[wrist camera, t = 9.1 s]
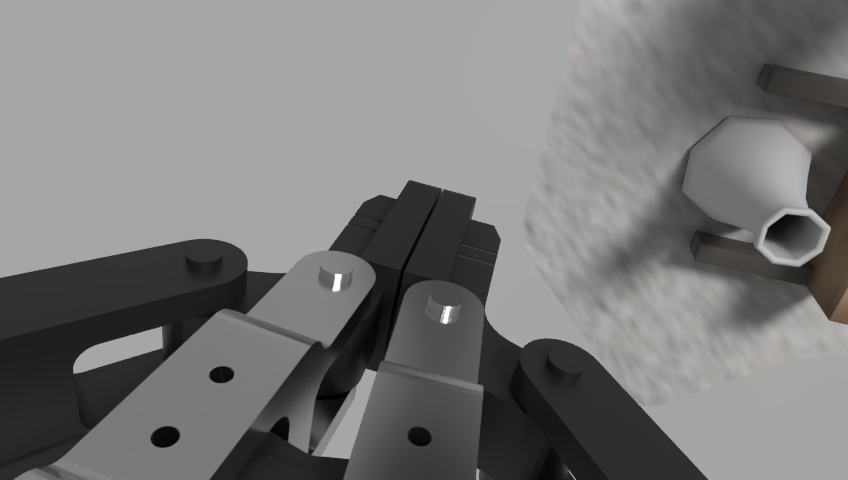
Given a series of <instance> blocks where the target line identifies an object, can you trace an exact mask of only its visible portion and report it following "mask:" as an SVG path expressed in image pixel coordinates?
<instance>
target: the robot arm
mask: <svg viewBox="0 0 848 480" xmlns="http://www.w3.org/2000/svg"><path fill="white" fill-rule="evenodd" d="M441 193H442V194H441ZM475 202H476V198H475V197H471V196H467V195H464V194H460V193H456V192H452V191H449V190H445V189H444V190H443V192H442V189H441V188H437V187H434V186H430V185H426V184H422V183H419V182H415V181H411V180H409V181H408V183H407V184H406V186H405V187H404V189H403V191H402V192H401V194H400V195H399V197H398V198H397V199H394V198H390V197H387V196H383V195H379V196H376V197H375V198H372V199H370V200H367V201H365V202H364V203H363V204H362V205H361V207H360V208H359V209H358V211H357V212H356V213H355V216H353V218H352V219H351V220H350V222H349V223H348V225H347V226H346V227H345V228H344V230H343V231H342V232H341V234H340V235H339V236H338V238H337V239H336V240H335V242H334V243H333V245H332V246H331V247H330V249H329V250H328V251H320V252H315V253H312V254H309V255H307V256H305V257H303V258H302V259H301V260H299V261H298V262H297V263H296V264H295V265H294V267H293V268H291V269H290V271H289V272H287V273H265V272H253V271H247V266H248V261H247V257H246V255H245V254H244V252H242V250H241V249H239V248H238V247H236V246H234V245H232V244H230V243H227V242H223V241H219V240H212V239H195V240H188V241H183V242H178V243H173V244H168V245H163V246H158V247H153V248H148V249H143V250H138V251H133V252H129V253H123V254H118V255H113V256H108V257H103V258H98V259H93V260H88V261H84V262H78V263H73V264H68V265H63V266H58V267H53V268H48V269H43V270H38V271H33V272H28V273H23V274H18V275H13V276H8V277H3V278H0V480H476V469H477V468H478V469H479V470H480V471H479V480H574V478H573V477H572V475H571V474H570V473H569V470H570V472H571V473H572V474H573V475H574V477H575V478H576V480H708V479H707V478H706V477H705V476H704V475H703V474H702V472H701V471H699V470H698V468H697V467H696V466H695V465H694V464H693V463H692V462H691V461H690V460H689V459H688V458H687V456H686V455H685V454H684V453H683V452H682V451H681V450H680V449H679V448H678V447H677V446H676V445H675V443H674V442H673V441H672V440H671V439H670V438H669V437H668V436H667V435H666V434H665V433H664V432H663V431H662V430H661V428H660V427H659V426H658V425H657V424H656V423H655V422H654V421H653V420H652V419H651V418H650V417H649V416H648V415H647V413H646V412H645V411H644V410H643V409H642V408H641V407H640V406H639V405H638V404H637V403H636V402H635V400H634V399H633V398H632V397H631V396H630V395H629V394H628V393H627V392H626V391H625V390H624V389H623V388H622V387H621V385H620V384H619V383H618V382H617V381H616V380H615V379H614V378H613V377H612V376H611V375H610V374H609V373H608V371H607V370H606V369H605V368H604V367H603V366H602V365H601V364H600V363H599V362H598V361H597V360H596V359H595V358H594V357H593V356H592V355H591V354H589V353H588V352H587V351H585V350H583V349H582V348H580V347H578V346H576V345H574V344H571V343H568V342H566V341H561V340H557V339H538V340H534V341H532V342H530V343H528V344H527V345H525V346H524V348H521V347H519V346H517V345H515V344H514V343H512V342H510V341H508V340H507V339H505V338H504V337H503V336H501V335H500V334H499V333H497V331H495V330H494V328H493V327H492V326H491V325H490V323H489V322H488V320H487V318H486V315H485V304H486V300H487V296H488V291H489V287H490V283H491V279H492V274H493V270H494V266H495V262H496V258H497V253H498V249H499V245H500V241H501V239H500V237H499V235H498V233H497V231H496V229H495V227H494V226H493V225H489V224H486V223H482V222H478V221H475V220H471V219H472V214H473V211H474V207H475ZM161 326H162V333H163V334H162V335H163V348H162V349H159V350H155V351H152V352H149V353H145V354H142V355H139V356H135V357H132V358H129V359H125V360H122V361H119V362H116V363H112V364H109V365H105V366H102V367H99V368H96V369H92V370H89V371H86V372H82V373H76V374H73V365H74V363H75V361H76V359H77V358H78V356H79V355H80V354H81V353H83V352H84V351H85V350H86V349H88V348H90V347H92V346H94V345H97V344H100V343H103V342H107V341H111V340H114V339H118V338H122V337H125V336H129V335H133V334H136V333H140V332H143V331H147V330H150V329H154V328H158V327H161ZM365 369H369V370H373V371H376V372H377V374H376V377H375V380H374V384H373V387H372V390H371V393H370V396H369V400H368V403H367V406H366V409H365V412H364V415H363V418H362V421H361V425H360V428H359V431H358V434H357V437H356V440H355V444H354V447H353V450H352V453H351V456H350V459H341V458H330V457H321V455H322V453H323V451H324V450H325V448H326V446H327V445H328V443H329V441H330V439H331V438H332V436H333V434H334V433H335V431H336V429H337V428H338V426H339V424H340V422H341V421H342V418H343V417H344V415H345V414H346V412H347V410H348V409H349V407H350V405H351V403H352V402H353V400H354V397H355V392H356V386H357V384H358V383H359V381H360V380H361V378H362V376H363V373H364V371H365Z"/></svg>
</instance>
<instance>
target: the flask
mask: <svg viewBox="0 0 848 480" xmlns="http://www.w3.org/2000/svg"><path fill="white" fill-rule="evenodd" d="M811 157H812V151H811V150H810V149H809V148H808V147H807V146H806V145H805V144H804V143H803V142H802V141H801V140H800V139H799V138H798V137H797V136H796V135H795V134H794V133H793V132H792V131H791V130H790V129H789V128H788V127H787V126H786V125H784V124H783V123H782V122H781V121H780V120H772V119H760V118H749V117H738V116H729V117H728V118H727V119H725V120H724V121H723V122H722V123H721V124H720V125H718V126H717V127H716V128H715V129H714V130H713V131H711V132H710V133H709V134H708V135H707V136H706V137H704V138H703V139H702V140H701V141H700V142H699V143H697V144H696V145H695V146H694V147H693V148H692V149H691V152H690V156H689V160H688V164H687V168H686V172H685V176H684V180H683V185H682V189H681V191H682V192H683V193H684V194H685V195H686V196H687V197H688V198H689V199H690V200H692V201H693V202H694V203H695V204H696V205H697V206H698V207H699V208H700V209H701V210H702V211H703V212H705V213H706V214H707V215H708V216H709V217H710V218H711V219H713V220H716V221H719V222H723V223H727V224H731V225H734V226H737V227H740V228H742V229H745V230H748V231H751V232H753V233H754V234H755V236H756V238H755V241H754V247H755V248H756V249H757V250H758V251H759V252H760V253H761V254H762V255H763V256H764V257H766V258H767V259H768V260H769V261H770V262H771V263H772V264H778V265H786V266H794V267H800V266H802V265H803V264H805V263H806V262H808V261H809V260H811V259H812V258H813V257H815V256H816V255H818V254H819V253H821V252H822V251H823V248H824V246H825V243H826V240H827V238H828V235H829V232H830V230H831V228H830V226H829V225H828V224H827V223H826V222H825V221H824V220H822V219H821V218H820V217H819V216H818V215H817V214H816V213H815V212H814V211H813V210H812V209H810V208H808V205H807V201H806V189H807V179H808V173H809V168H810V163H811Z"/></svg>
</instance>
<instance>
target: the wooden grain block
mask: <svg viewBox="0 0 848 480" xmlns="http://www.w3.org/2000/svg"><path fill="white" fill-rule="evenodd" d="M757 85H758V86H760V87H761V88H762V89H763V90H764V91H766V92H770V93H776V94H781V95H786V96H791V97H796V98H801V99H806V100H811V101H816V102H821V103H826V104H831V105H837V106H842V107H847V108H848V80H847V79H842V78H837V77H831V76H826V75H821V74H816V73H810V72H805V71H800V70H795V69H790V68H784V67H779V66H774V65H769V64H765V65H764V67H763V69H762V72H761V74H760V77H759V79H758V82H757ZM823 220H824V221H825V222H826V223H827V224H828V225H829V226H830V228H831V230H830V232H829V235H828V238H827V240H826V243H825V246H824V248H823V251H822V252H821V253H819V254H818V255H816V256H815V257H813V258H812V259H811V260H809V261H808V262H806V263H805V264H803V265H802V266H800V267H794V266H786V265H778V264H772V263H771V262H770V261H769V260H768V259H767V258H766V257H764V256H763V255H762V254H761V253H760V252H759V251H758V250H757V249H756V248H755V247H754V244H752V243H747V242H743V241H738V240H734V239H729V238H725V237H720V236H716V235H712V234H707V233H703V232H698V231H696V233H695V235H694V237H693V240H692V242H691V245H690V248H691V251H692V254H693V256H694V259H695V260H697V261H701V262H705V263H710V264H714V265H718V266H723V267H727V268H731V269H736V270H740V271H744V272H749V273H753V274H757V275H762V276H766V277H770V278H775V279H779V280H783V281H788V282H792V283H796V284H801V285H805V286H807V288H808V289H809V291H810V292H811V294H812V295H813V297H814V298H815V300H816V301H817V303H818V304H819V306H820V307H821V309H822V310H823V312H824V313H825V315H826V316H827V318H828V319H829V320H830V321H834V322H838V323H843V324H847V325H848V172H847V174H846V175H845V177H844V179H843V181H842V183H841V185H840V187H839V189H838V191H837V193H836V195H835V197H834V199H833V201H832V203H831V205H830V206H829V208H828V210H827V212H826V214H825V216H824V218H823Z"/></svg>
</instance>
